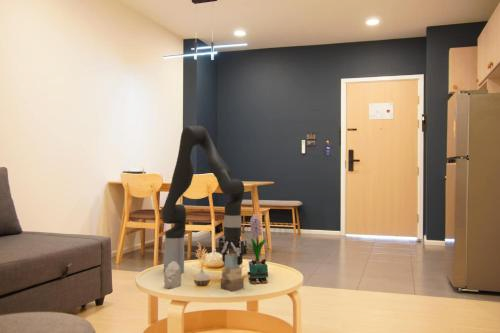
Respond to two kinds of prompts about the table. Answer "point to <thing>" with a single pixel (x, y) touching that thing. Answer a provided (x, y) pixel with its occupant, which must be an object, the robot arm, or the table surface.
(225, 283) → the walnut base
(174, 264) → the stone
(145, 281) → the table surface
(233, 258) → the slate block
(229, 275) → the beech block
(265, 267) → the green toy vehicle
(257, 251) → the hyacinth
